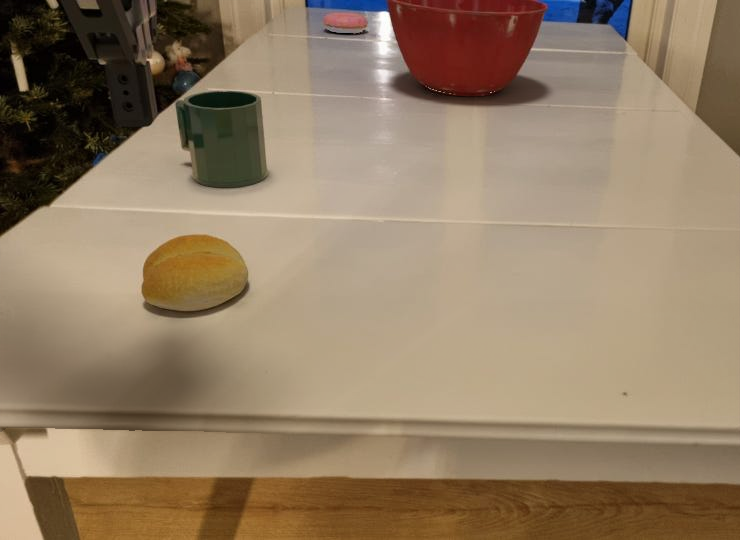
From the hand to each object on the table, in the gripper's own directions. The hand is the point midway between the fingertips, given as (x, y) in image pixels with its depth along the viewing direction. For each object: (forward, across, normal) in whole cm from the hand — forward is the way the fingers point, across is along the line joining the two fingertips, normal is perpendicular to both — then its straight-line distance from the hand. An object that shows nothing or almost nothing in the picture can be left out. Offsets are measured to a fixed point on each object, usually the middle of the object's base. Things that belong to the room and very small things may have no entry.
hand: (137, 123), depth 44 cm
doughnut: (+17, -139, +16) cm, 141 cm away
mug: (+17, -38, -1) cm, 42 cm away
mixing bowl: (+17, -82, +36) cm, 91 cm away
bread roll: (+17, -10, 0) cm, 20 cm away
